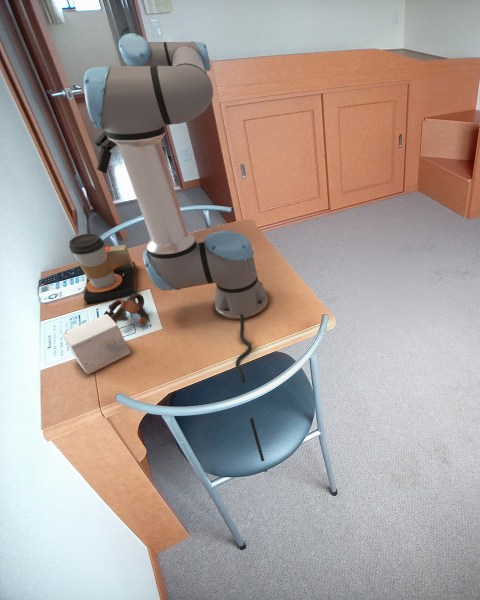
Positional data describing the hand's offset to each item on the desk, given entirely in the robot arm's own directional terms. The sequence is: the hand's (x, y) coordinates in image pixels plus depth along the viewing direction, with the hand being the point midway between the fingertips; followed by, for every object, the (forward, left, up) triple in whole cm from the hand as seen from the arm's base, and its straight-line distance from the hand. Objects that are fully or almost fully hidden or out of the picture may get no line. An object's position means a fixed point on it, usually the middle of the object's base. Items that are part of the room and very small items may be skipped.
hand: (122, 174), depth 124 cm
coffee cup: (-10, +14, -29) cm, 34 cm away
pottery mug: (-28, +7, -32) cm, 43 cm away
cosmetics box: (-42, +13, -32) cm, 54 cm away
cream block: (-3, +9, -29) cm, 31 cm away
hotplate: (-7, +11, -32) cm, 34 cm away
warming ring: (-10, +14, -29) cm, 34 cm away
